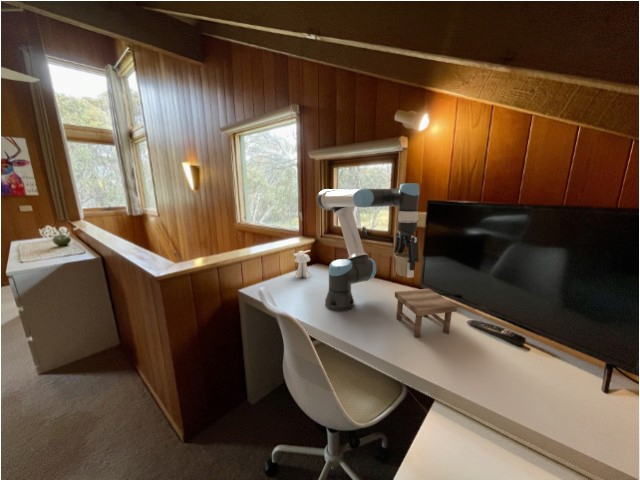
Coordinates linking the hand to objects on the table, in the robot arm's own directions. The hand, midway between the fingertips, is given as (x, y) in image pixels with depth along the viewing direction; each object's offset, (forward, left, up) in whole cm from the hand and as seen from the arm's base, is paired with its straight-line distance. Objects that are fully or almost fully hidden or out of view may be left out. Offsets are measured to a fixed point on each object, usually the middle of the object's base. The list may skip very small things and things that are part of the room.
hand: (404, 273), depth 106 cm
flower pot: (0, 0, -1) cm, 1 cm away
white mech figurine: (-71, -33, -24) cm, 82 cm away
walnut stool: (+3, +9, -24) cm, 26 cm away
